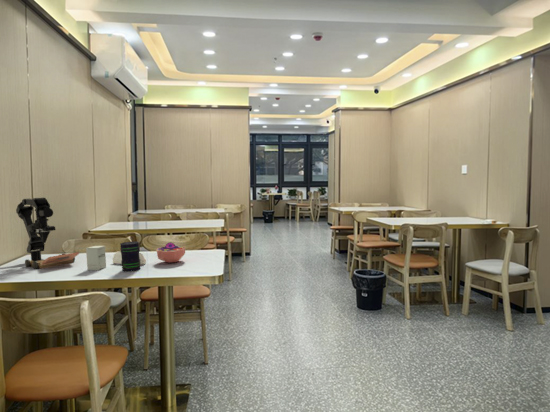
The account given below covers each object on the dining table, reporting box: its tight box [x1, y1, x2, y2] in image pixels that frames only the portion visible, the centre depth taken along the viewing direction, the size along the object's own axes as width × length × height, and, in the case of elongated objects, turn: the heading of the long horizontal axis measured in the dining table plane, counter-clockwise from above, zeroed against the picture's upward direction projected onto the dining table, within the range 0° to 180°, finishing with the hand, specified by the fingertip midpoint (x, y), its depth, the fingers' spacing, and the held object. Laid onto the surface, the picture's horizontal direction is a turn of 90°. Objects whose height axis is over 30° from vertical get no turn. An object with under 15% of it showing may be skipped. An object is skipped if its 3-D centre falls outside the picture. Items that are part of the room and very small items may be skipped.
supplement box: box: [85, 245, 107, 271], centre depth 235 cm, size 7×7×13 cm
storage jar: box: [119, 241, 142, 273], centre depth 229 cm, size 10×10×15 cm
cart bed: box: [24, 252, 76, 270], centre depth 255 cm, size 18×23×4 cm
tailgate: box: [42, 251, 80, 265], centre depth 246 cm, size 2×17×11 cm
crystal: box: [112, 250, 147, 266], centre depth 247 cm, size 7×7×24 cm
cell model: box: [155, 242, 186, 264], centre depth 246 cm, size 17×20×11 cm
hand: (44, 242), depth 258 cm, fingers closed
